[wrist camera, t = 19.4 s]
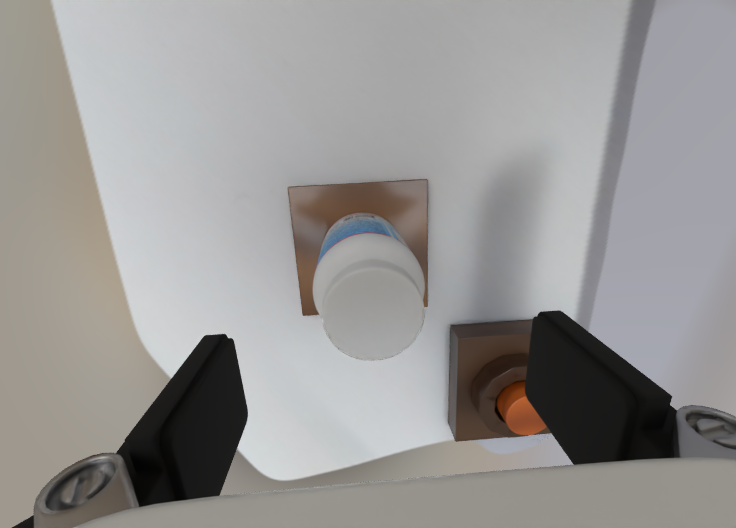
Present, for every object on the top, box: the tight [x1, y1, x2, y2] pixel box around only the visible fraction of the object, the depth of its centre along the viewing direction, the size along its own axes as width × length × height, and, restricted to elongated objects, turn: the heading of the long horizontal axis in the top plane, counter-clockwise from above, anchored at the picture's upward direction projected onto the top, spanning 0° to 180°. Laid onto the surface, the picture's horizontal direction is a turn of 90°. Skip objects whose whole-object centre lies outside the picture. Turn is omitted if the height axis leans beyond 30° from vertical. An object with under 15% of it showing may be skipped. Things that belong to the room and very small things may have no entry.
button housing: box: [448, 320, 551, 441], centre depth 29 cm, size 10×9×4 cm
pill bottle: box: [313, 213, 425, 360], centre depth 21 cm, size 6×6×11 cm
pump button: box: [497, 381, 547, 435], centre depth 26 cm, size 4×4×2 cm
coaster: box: [288, 179, 428, 316], centre depth 26 cm, size 10×10×1 cm
